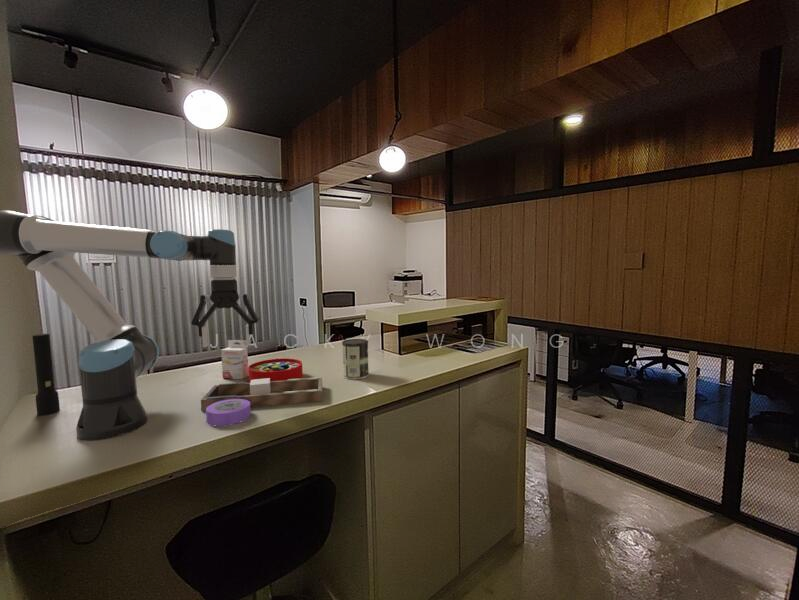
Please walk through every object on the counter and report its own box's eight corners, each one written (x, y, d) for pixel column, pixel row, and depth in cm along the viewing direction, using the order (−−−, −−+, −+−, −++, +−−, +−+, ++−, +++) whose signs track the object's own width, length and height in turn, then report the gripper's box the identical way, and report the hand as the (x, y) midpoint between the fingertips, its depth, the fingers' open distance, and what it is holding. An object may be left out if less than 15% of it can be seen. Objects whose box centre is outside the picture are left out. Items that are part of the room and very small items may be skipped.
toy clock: (237, 367, 140) (280, 356, 156) (238, 381, 140) (280, 369, 157) (270, 375, 129) (312, 362, 145) (270, 391, 129) (313, 377, 146)
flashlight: (34, 413, 111) (40, 416, 108) (26, 335, 108) (32, 336, 106) (55, 407, 115) (62, 410, 112) (48, 332, 113) (55, 333, 110)
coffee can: (364, 371, 153) (364, 337, 151) (372, 377, 143) (371, 342, 142) (340, 373, 149) (339, 339, 147) (346, 381, 139) (345, 344, 138)
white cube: (270, 395, 125) (270, 377, 125) (270, 401, 119) (269, 383, 119) (251, 397, 123) (251, 379, 123) (250, 403, 118) (249, 385, 117)
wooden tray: (201, 411, 111) (200, 399, 111) (215, 395, 125) (214, 384, 125) (322, 401, 118) (321, 390, 118) (322, 387, 132) (322, 376, 132)
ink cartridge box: (222, 379, 143) (219, 342, 142) (229, 375, 148) (227, 339, 147) (242, 379, 142) (240, 342, 141) (249, 375, 147) (247, 339, 146)
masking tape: (238, 407, 114) (238, 395, 114) (258, 416, 107) (257, 404, 107) (199, 419, 105) (198, 406, 105) (218, 430, 98) (217, 417, 98)
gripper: (266, 278, 122) (268, 341, 124) (186, 279, 117) (189, 344, 119) (262, 278, 115) (265, 345, 117) (176, 279, 110) (181, 350, 112)
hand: (227, 345), depth 118 cm, fingers open, 12 cm apart
